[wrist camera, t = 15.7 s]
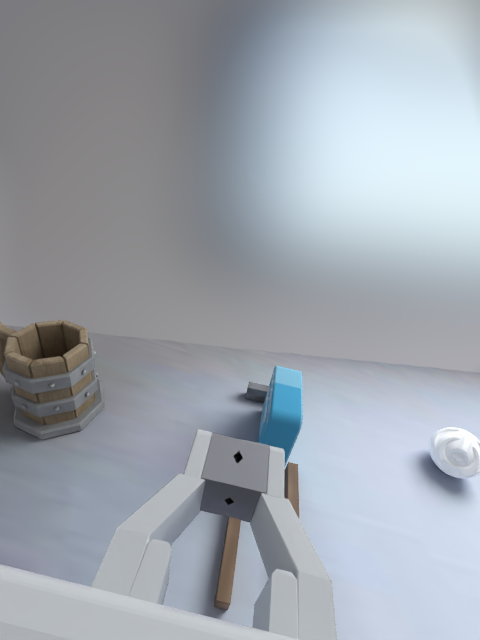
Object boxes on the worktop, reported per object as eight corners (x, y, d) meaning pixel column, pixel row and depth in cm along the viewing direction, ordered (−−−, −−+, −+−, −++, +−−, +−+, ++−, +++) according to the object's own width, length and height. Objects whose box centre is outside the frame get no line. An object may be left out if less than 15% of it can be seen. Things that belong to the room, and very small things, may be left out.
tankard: (118, 393, 55) (114, 326, 47) (62, 450, 45) (44, 376, 37) (31, 357, 59) (13, 289, 51) (-39, 401, 49) (-75, 325, 41)
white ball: (416, 463, 54) (438, 435, 49) (426, 438, 59) (447, 411, 55) (466, 496, 50) (495, 469, 46) (472, 466, 55) (498, 440, 51)
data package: (261, 408, 58) (276, 361, 52) (285, 414, 58) (302, 367, 52) (254, 466, 48) (270, 416, 42) (282, 473, 48) (303, 424, 41)
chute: (210, 605, 33) (213, 595, 32) (246, 392, 61) (249, 381, 59) (300, 627, 33) (308, 619, 31) (295, 403, 61) (299, 393, 59)
